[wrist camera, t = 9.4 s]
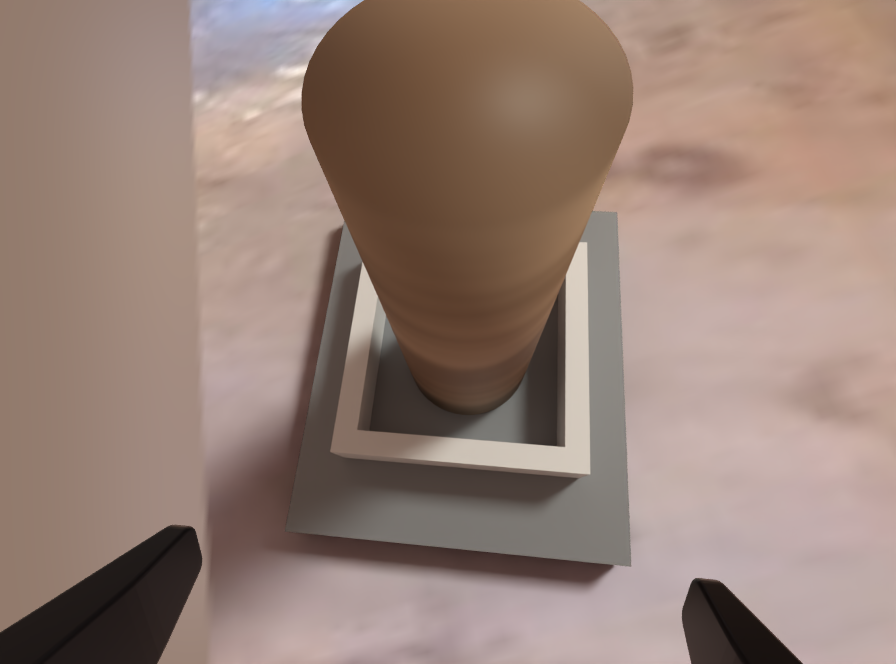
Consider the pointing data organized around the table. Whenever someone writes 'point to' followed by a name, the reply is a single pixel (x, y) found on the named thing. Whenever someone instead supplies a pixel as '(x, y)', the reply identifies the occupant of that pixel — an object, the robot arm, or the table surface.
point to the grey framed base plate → (473, 430)
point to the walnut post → (467, 170)
